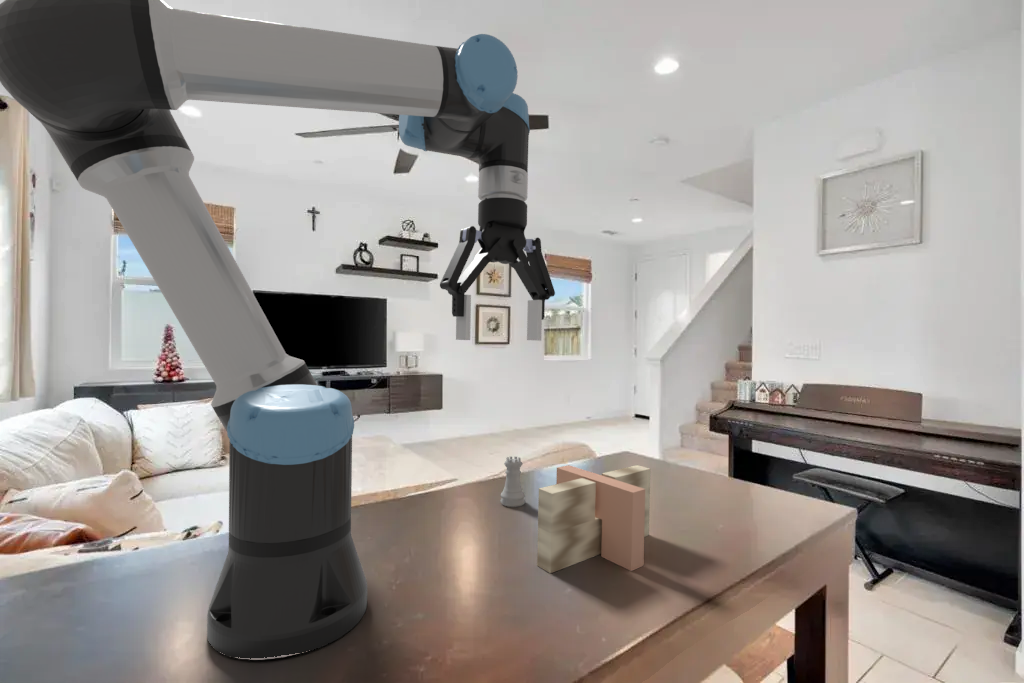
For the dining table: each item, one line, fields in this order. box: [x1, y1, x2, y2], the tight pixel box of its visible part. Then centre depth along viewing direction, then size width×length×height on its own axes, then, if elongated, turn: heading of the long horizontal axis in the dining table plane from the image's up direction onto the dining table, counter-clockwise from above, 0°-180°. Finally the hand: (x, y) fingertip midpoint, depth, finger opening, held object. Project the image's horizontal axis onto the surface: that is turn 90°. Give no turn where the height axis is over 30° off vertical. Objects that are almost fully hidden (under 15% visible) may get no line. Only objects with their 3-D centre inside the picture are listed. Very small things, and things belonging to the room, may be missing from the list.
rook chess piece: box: [499, 456, 526, 508], centre depth 87 cm, size 4×4×8 cm
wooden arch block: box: [555, 464, 645, 572], centre depth 69 cm, size 14×2×10 cm, turn 38°
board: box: [536, 464, 652, 574], centre depth 69 cm, size 20×2×10 cm, turn 128°
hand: (500, 340), depth 76 cm, fingers open, 13 cm apart
